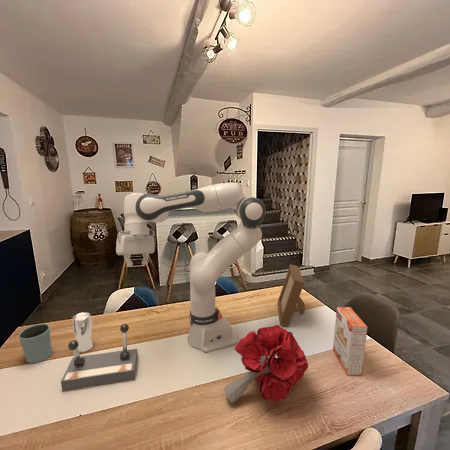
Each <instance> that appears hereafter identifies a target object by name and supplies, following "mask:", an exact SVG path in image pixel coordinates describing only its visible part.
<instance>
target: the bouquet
mask: <svg viewBox="0 0 450 450" xmlns="http://www.w3.org/2000/svg"><path fill="white" fill-rule="evenodd" d="M234 350H235V352H236V353H237V354H238V355H239V356H241V363H242V365H243V366H244V369H245V370H246V371H248V374H247V373H246V375H244V376H242V377H240V378H238V379H235V380H234V381H232V382H230V383H228V384H226V386H225V387H224V388H223V391H224V393H225V396H226V397H227V399H228V400H229V402H230V403H231V404H232V405H233V404H234V403H235V402H237V401H238V400H239V398H240V397H242V395H243V394H244V392H245V391H246V389H247V388H248V386H249V385H250V384H251V383H252V381H254V380H256V381H257V383H259V395H260V397H261V399H263V400H265V401H269V402H273V403H274V402H275V403H277V402H280V401H283V400H285V399H286V398H287V397H288V396H289V395H290V392H291V389H292V388H294V386H297V384H298V383H299V381H301V380H302V379H303V377H304V375H305V372H306V371H307V370H308V369H309V362H308V360H307V358H306V355H305V351H304V350H303V349H302V347H301V346H300V345H299V343H298V341H297V339H296V338H295V336H294V334H293V333H292V332H291V331H288V329H285V328H283V327H282V325H280V324H278V323H276V324H274V325H270V326H264V327H260V328H258V329H257V330H256V331H255V330H253V331H250V332H248V333H247V334H246V335H245V336H244V337H242V338H241V339H239V341H237V343H236V344H235V346H234Z"/></svg>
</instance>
